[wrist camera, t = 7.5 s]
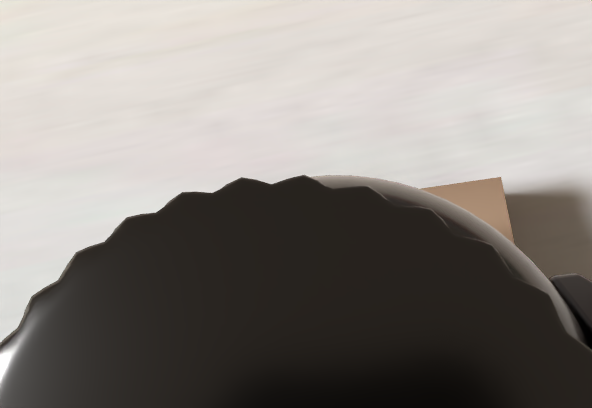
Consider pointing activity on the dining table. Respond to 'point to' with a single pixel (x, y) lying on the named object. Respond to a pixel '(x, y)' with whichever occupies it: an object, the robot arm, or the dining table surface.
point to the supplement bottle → (299, 309)
